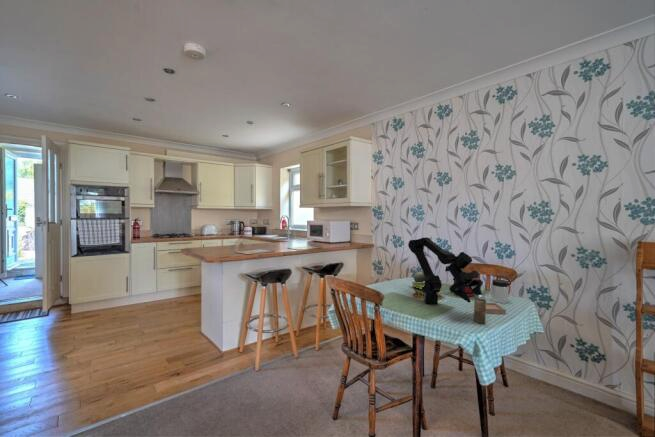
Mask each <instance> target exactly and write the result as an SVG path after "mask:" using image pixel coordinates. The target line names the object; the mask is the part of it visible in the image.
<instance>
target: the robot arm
mask: <svg viewBox="0 0 655 437" xmlns="http://www.w3.org/2000/svg"><path fill="white" fill-rule="evenodd" d="M425 247H426V249H428V250H429V251H430V252H432V254H434V255H436V257H437V260H438V261H439V262H440V263H441V264H442V265H447V266H445V270H444V272H449V273H450V274H451V276H452V277H453V278H452V281H453V283H452V284H451V285H450V286H449V291H450V293H451V294H453V295H456V296H458V297H459V298H461V299H463V300H464V301H466V302H467V303H471V302H472V301H471V299H470V296H468V295H467V294H466V292H465V288H466V287H469V288H470V289H472V290H471V291H472V292H473V293H474V295H475V296H476V295H477V294H481V295H483V294H482V291H481V289H482V288H481V287H482V286H483V283H484V282H483V281H482V279H480V278H479V276H480V273H479V271H478V270H476V269H475V270H471V272H470V271H469V272H466V271H464V269H465V268H467V267H469V265H470V264H471V263H472V262H473V259H472V256H470V255H468V254H467V253H466V252H465V251H461V252H459V254H458V255H456V254H454V253H453V252H451V251H448V250H446V249H443V248H442V247H440V246H439V245H438V244H437V243H436V242H434V241H433V240H431V238H429V237H421V238H417V239H410V240H409V241H408V248H409V250H410V252H411V253H412V254H414V256H415V257H416V259H417V261H418V263H419V266H420V268H421V272H423V273H424V275H425V286H424V287H422V289H421V291H422V293H424V298H423V302H424V303H425V305H439V304H438V303H439V295H438V293H440V290H441V289H442V287H443V286H442V285H443V284H442V280H441V278H440V276H439V275H436V274H434V271H433V270H432V267H431V265H430V263H429V261H428V258H427V256H426V254H425V252H424V251H425ZM474 278H477V279H476V280H473V281H472V279H474ZM455 280H456V283H454V281H455ZM471 281H472V282H471ZM470 282H471V283H470Z"/></svg>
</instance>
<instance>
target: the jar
mask: <svg viewBox="0 0 655 437" xmlns="http://www.w3.org/2000/svg"><path fill="white" fill-rule="evenodd" d="M491 281H492V282H491V285H490V287H491V288H490V289H491V290H490V301H492V302H493V303H497V304H498V303H499V304H507V303H509V292H510V287H509V280H504V279H497V278H496V279H492V280H491Z"/></svg>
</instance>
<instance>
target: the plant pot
mask: <svg viewBox="0 0 655 437" xmlns="http://www.w3.org/2000/svg"><path fill="white" fill-rule="evenodd" d="M476 279H478V278H474V279H472V281H473V280H476ZM472 281H471V282H472ZM471 282H470V283H471ZM454 283H456V280H455V281H454V280H453V284H454ZM471 290H472V289H470V288H469V287H466V288H465V292H466V294H467V295H468V297H472V296H474V295H475V294H474V293H473V292H472V291H471Z"/></svg>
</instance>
